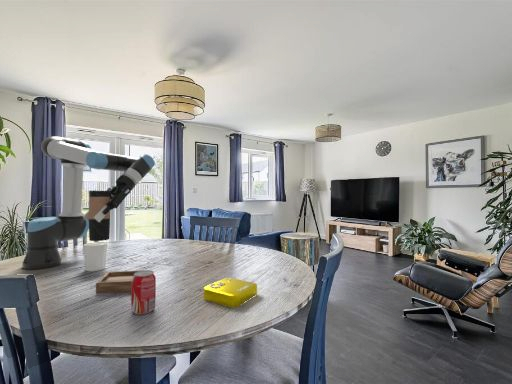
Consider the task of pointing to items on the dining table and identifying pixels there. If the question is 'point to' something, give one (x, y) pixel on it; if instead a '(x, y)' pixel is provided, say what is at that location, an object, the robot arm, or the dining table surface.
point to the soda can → (143, 292)
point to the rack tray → (115, 282)
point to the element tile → (230, 292)
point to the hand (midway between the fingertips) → (90, 219)
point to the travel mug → (96, 203)
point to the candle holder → (95, 256)
